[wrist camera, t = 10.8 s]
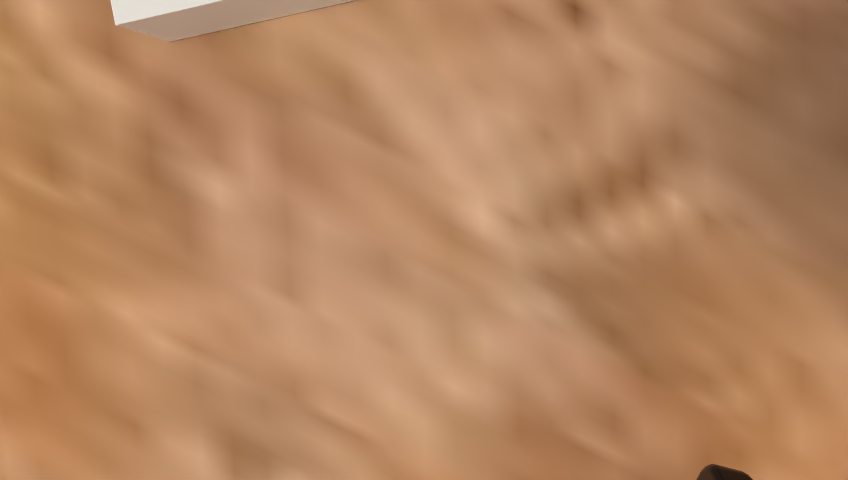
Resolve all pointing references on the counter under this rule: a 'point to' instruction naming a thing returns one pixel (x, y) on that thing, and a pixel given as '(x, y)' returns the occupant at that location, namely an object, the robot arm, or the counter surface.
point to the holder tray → (203, 14)
